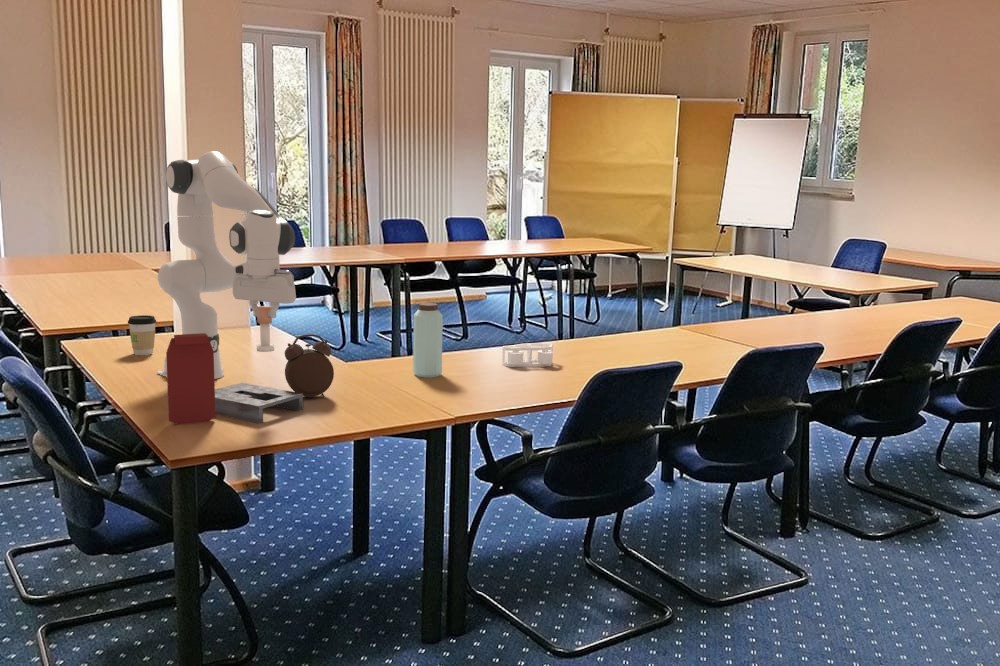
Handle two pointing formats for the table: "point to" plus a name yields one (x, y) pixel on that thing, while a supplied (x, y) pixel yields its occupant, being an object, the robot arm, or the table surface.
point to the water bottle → (427, 341)
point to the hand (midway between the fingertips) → (264, 317)
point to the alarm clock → (309, 367)
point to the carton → (190, 379)
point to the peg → (264, 329)
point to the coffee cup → (142, 334)
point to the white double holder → (528, 355)
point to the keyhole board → (253, 401)
